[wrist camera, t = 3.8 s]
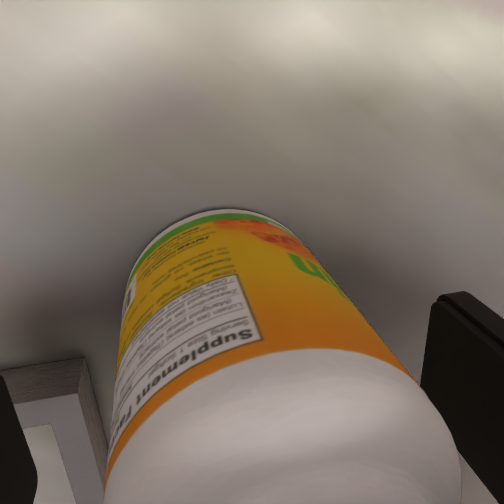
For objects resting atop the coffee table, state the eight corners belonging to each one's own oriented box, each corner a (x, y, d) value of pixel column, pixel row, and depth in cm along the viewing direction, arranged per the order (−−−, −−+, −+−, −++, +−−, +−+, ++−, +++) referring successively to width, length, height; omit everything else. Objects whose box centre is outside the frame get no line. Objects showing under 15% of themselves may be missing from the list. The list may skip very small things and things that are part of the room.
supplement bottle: (342, 306, 14) (675, 737, 5) (199, 400, 14) (283, 962, 5) (250, 163, 11) (584, 519, 3) (80, 281, 12) (-115, 945, 3)
